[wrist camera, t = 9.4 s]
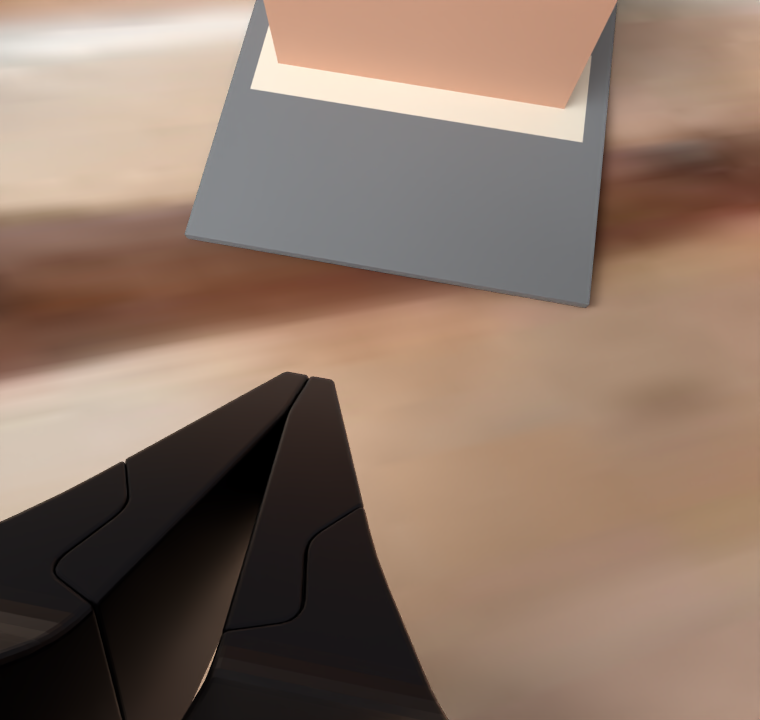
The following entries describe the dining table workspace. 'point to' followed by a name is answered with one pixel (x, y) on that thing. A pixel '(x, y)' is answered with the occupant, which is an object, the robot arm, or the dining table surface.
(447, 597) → the dining table surface
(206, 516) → the robot arm
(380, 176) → the mat
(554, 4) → the t block
